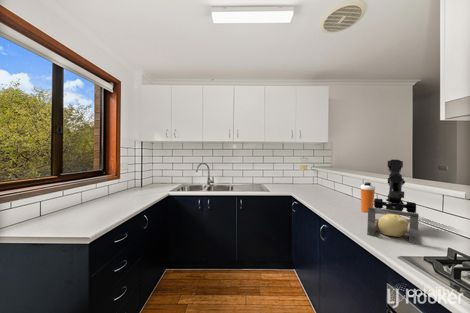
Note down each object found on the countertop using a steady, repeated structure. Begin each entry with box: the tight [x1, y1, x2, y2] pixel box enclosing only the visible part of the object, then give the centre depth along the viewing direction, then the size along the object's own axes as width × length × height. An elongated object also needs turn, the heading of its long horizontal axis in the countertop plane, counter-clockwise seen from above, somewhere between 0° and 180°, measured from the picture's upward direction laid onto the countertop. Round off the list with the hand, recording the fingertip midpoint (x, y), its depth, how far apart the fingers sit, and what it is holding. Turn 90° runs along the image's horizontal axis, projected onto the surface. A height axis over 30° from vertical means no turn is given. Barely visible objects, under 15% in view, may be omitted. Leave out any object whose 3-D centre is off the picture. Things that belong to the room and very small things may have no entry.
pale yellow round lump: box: [378, 213, 409, 238], centre depth 122 cm, size 11×12×11 cm
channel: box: [366, 206, 419, 245], centre depth 124 cm, size 20×20×14 cm
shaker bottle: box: [360, 181, 376, 214], centre depth 171 cm, size 9×9×20 cm
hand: (393, 218), depth 128 cm, fingers closed
